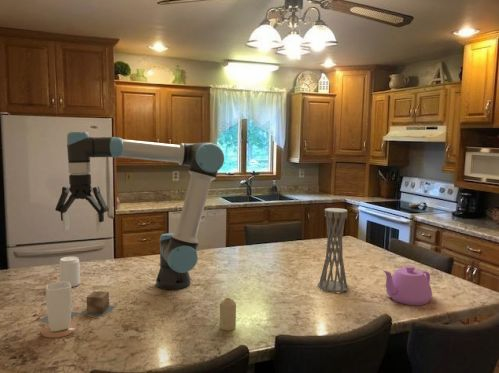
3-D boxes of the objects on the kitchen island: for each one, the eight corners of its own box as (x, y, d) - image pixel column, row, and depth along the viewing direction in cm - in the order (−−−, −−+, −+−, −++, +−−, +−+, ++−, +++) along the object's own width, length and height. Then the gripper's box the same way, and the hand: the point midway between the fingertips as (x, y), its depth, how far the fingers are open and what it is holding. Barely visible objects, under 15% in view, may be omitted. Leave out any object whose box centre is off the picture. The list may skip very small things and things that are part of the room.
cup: (49, 335, 133) (47, 290, 132) (46, 326, 139) (44, 284, 138) (73, 330, 137) (72, 286, 136) (69, 322, 143) (68, 280, 142)
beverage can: (72, 289, 176) (71, 261, 175) (55, 287, 178) (55, 260, 177) (83, 282, 184) (83, 256, 183) (67, 281, 186) (66, 255, 185)
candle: (219, 323, 145) (219, 296, 144) (235, 323, 145) (235, 296, 144) (219, 331, 140) (220, 302, 138) (236, 330, 140) (236, 302, 139)
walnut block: (109, 306, 158) (108, 291, 157) (102, 313, 152) (102, 297, 151) (93, 306, 158) (93, 291, 158) (86, 312, 152) (86, 297, 152)
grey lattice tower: (354, 287, 184) (357, 210, 180) (338, 295, 174) (341, 213, 171) (328, 280, 193) (330, 206, 190) (311, 287, 184) (314, 209, 180)
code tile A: (79, 313, 152) (79, 312, 152) (62, 325, 143) (62, 324, 143) (56, 311, 154) (56, 309, 154) (37, 322, 145) (37, 321, 145)
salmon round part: (84, 324, 142) (84, 323, 142) (63, 339, 132) (63, 337, 132) (56, 321, 145) (56, 319, 145) (33, 335, 134) (33, 333, 134)
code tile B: (117, 307, 159) (117, 306, 159) (102, 317, 149) (102, 316, 149) (94, 304, 161) (94, 303, 161) (78, 314, 151) (78, 313, 151)
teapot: (413, 288, 185) (415, 258, 183) (445, 302, 168) (448, 270, 167) (368, 295, 175) (369, 263, 174) (397, 311, 159) (399, 276, 157)
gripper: (116, 173, 154) (118, 228, 157) (55, 172, 159) (59, 226, 161) (105, 175, 147) (108, 233, 149) (42, 174, 151) (46, 231, 154)
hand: (82, 230), depth 155 cm, fingers open, 13 cm apart
